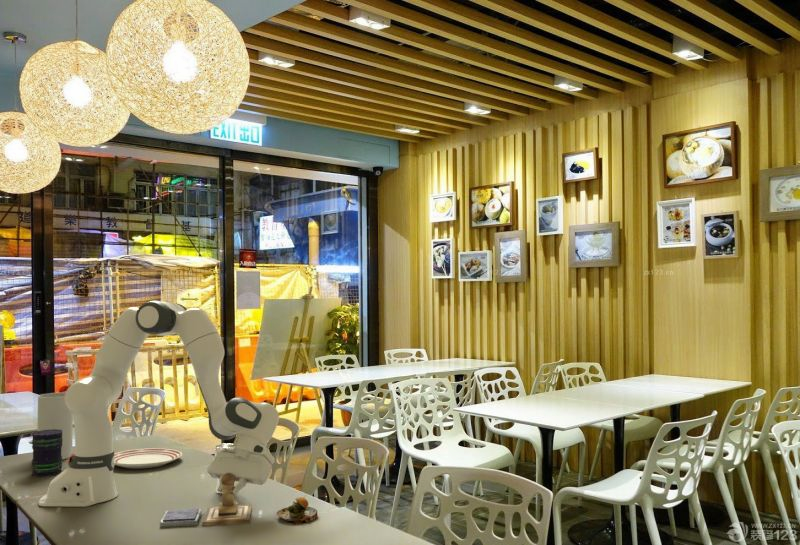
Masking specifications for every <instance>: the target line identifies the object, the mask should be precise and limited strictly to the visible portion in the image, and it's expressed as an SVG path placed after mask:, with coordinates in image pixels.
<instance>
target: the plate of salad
mask: <svg viewBox="0 0 800 545" xmlns="http://www.w3.org/2000/svg"><path fill="white" fill-rule="evenodd" d="M307 493H308V492H307V491H306V492H305V494H307ZM295 501H296V502H295ZM295 501H293V502H292V505H289V506H288V507H283V508H282V509H280V510H278V511H277V512H276V515H277V516H278V517H279V518H281V519H282V520H284V521H288V522H289V521H290V522H293V523H294V525H301V524H303V523H302V522H303V521H305V523H310V522H313V521H314V520H315V519H318V510H317V509H316V508H314V507H311V506H309V501H308V500H307V499H306V497H302V496H300V497H299V496H298V497H296V498H295Z"/></svg>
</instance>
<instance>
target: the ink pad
mask: <svg viewBox="0 0 800 545" xmlns="http://www.w3.org/2000/svg"><path fill="white" fill-rule="evenodd" d="M201 516H202V508H186V509H185V508H184V509H183V508H182V509H168V510H165V513H164V515H163V516H162V518H161V519H160V522H159V528H175V527H188V526H189V527H193V526H198V523H199V521H200V518H201Z"/></svg>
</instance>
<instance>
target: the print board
mask: <svg viewBox="0 0 800 545" xmlns="http://www.w3.org/2000/svg"><path fill="white" fill-rule="evenodd" d="M218 507H219V506H213V507H212V506H211V507H210V506H209V507H207V508H206V512H205V513H204V516H203V519H202V522H201V524H202V527H203V526H219V525H235V524H239V525H241V524H250V523H251V515H252V509H253V508H252V507H253V506H252V505H251V504H250V505H247V504H246V505H237V513H236V515H231V516H218Z"/></svg>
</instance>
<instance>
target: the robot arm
mask: <svg viewBox="0 0 800 545" xmlns="http://www.w3.org/2000/svg"><path fill="white" fill-rule="evenodd" d="M150 335H153V336H158V337H160V336H161V337H165V336H177V335H178V337H179V338H180V339H181V342H182V344H183V346H184V349H185V350H186V352H187V355H188V357H189V358H188V359H189V360H190V363H191V365H192V368H193V371H194V376H195V379H196V381H197V386H198V387H199V388H198V389H199V390H200V393H201V396H202V399H203V401H204V403H205V406H206V410H207V414H208V427H209V428H208V429H209V431H210V432H211V434H212V435H213V436H214V437H215V438H217V439H218V440H222V441H229V440H232V439H234V438H235V437H236V436H237V435H238V434H239V437H238V440H237V441H236V443H235V447H234V449H233V450H228V449H224V450H222V451H220V452H219V453H218V454H217V455H216V456H215V455H214V458H213V459H212V460H211V462H210V464H209V465H208V466H207V469H206V470H207V474H208V475H209V476H210V477H211V478H212V479H217V478H218V479H219V483H220V485H219V487H218V489H217V490H218V492H220V493H222V482H221V478H222V476H223V475H224V474H226V473H232V474H233V475H234V476H235V482H238V483H237V484H236V485H234V487H232V489H231V491H230V493H232V494H233V495H234V496H237V495H238V494H239V492H240V490H242V489H243V488H244V487H246V485H247V484H253V485H258V486H262V485H264V484H265V483H266V482H267V480H268V479H269V477H270V475H271V472H272V466H273V465H274V464H275V461H276V460H275V457H274V456H273V454H272V453H271V452H270V451H269V449H268V448H267V444H268V443H269V441H270V440H272V437H273V435H274V433H275V431H276V428H277V426H278V424H279V420H280V415H279V414H280V413H279V412H278V410H277V408H276V407H275V406H274V405H272V404H270V402H269V403H268V402H256V401H255V402H253V401H250V400H248V399H246V398H245V397H241V396H239V397H238V396H237V397H234V398H231V399H230V400H228V401H227V400H226V397H225V394H224V391H223V390H222V387H221V384H220V380H219V376H220V369H221V365H222V362H223V360H224V357H225V352H226V351H225V347H224V343H223V341H222V338H221V336H220V334H219V332H218V329H217V328H216V326H215V325H214V322H213V321H212V319H211V317H210V316H209V315H208V314H207V312H206V311H205V310H204V309H203V308H200V307H191V308H186V307H185V306H184V305H183V304H181V303H176V302H174V301H168V300H166V301H165V300H163V301H160V300H150V301H147V302H144V303H143V304H141V305H140V306H139V307H135V306H133V307H132V306H131V307H128V308H126V309H125V310H124V311H123V312H122V313H120V315H119V316H118V317H117V319H116V320H115V321H114V323H113V325H112V326H111V328H110V329H109V331H108V332H107V334H106V336H105V337H104V339H103V342H102V343H101V345H100V347H99V348H98V350H97V352H96V354H95V355H96V359H95V362H94V366H93V370H92V371H91V373H90V374H89V375H88V376H87V377H83V378H80V379H78V380H76V381H75V382H74V383H72V384H71V385H70V386H69V387H68V388H67V389H66V391H65V392H64V393H65V403H66V405H67V407H68V408H69V409H70V411H71V414H72V418H73V427H74V440H75V441H74V444H75V445H74V448H75V449H74V452H72V454H71V456H70V457H69V458H67V459H66V460H67V461H66V462H67V465H68V466H67V467H66V468H65V469H63V470H62V472H61V473H60V474H58V475H55V476H54V478H52V480H51V481H50V482H49V485H48V487H47V493H46V494H44V495H43V496H42V497H40V499H39V500H38V505H39V507H77V508H78V507H90V506H92V505H95V504H99V503H103V502H107V501H110V500H113V499H115V498H116V497H117V496H118V495H119V493H118V491H117V487H116V482H115V474H114V473H115V472H114V469H115V465H114V463H115V456H114V453H115V451H114V427H113V425H112V423H111V421H110V418H109V414H108V406H110V405H112V404H115V402H116V401H117V400H118V399H119V398H120V397H121V395H122V393H123V387H124V385H125V384H124V383H125V382H126V378H127V376H128V373H129V370H130V368H131V366H132V364H133V362H134V361H135V359H136V357H137V355H138V353H139V352H140V350H141V348H142V347H143V345H144V343H145V342H146V339H147V338H148V337H149V336H150Z"/></svg>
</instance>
